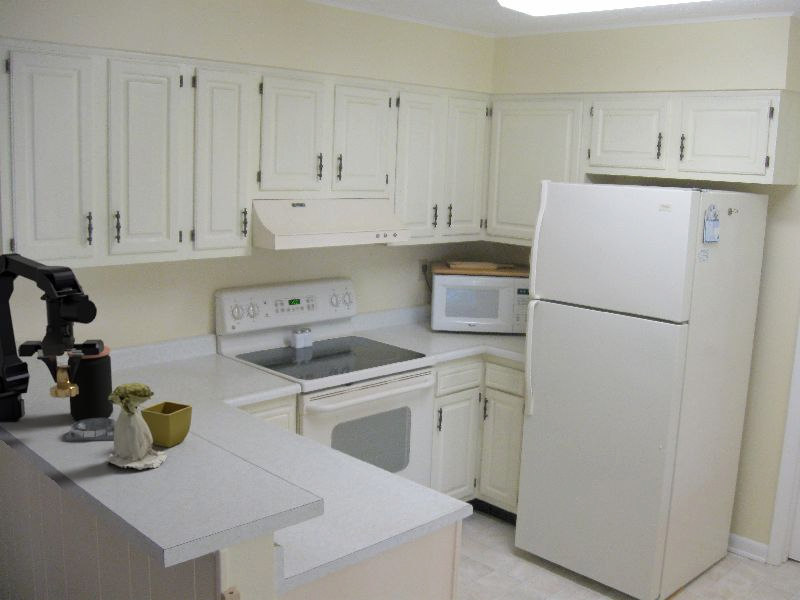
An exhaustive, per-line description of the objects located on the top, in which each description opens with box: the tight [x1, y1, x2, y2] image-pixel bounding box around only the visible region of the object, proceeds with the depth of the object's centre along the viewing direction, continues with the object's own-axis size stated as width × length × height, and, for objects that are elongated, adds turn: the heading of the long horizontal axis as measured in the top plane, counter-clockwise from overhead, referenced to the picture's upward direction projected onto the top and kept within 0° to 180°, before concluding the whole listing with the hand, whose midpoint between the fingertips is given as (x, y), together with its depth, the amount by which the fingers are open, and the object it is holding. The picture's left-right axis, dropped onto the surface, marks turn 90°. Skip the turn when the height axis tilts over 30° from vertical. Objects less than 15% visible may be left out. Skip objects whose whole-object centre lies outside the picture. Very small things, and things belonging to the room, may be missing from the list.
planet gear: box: [49, 364, 79, 399], centre depth 208 cm, size 6×6×7 cm
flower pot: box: [140, 400, 193, 448], centre depth 205 cm, size 9×9×9 cm
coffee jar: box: [66, 345, 114, 422], centre depth 224 cm, size 11×11×18 cm
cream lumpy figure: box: [106, 382, 168, 471], centre depth 191 cm, size 12×13×18 cm
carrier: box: [65, 417, 117, 442], centre depth 212 cm, size 19×10×2 cm, turn 96°
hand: (64, 382), depth 208 cm, fingers closed on planet gear, 3 cm apart
